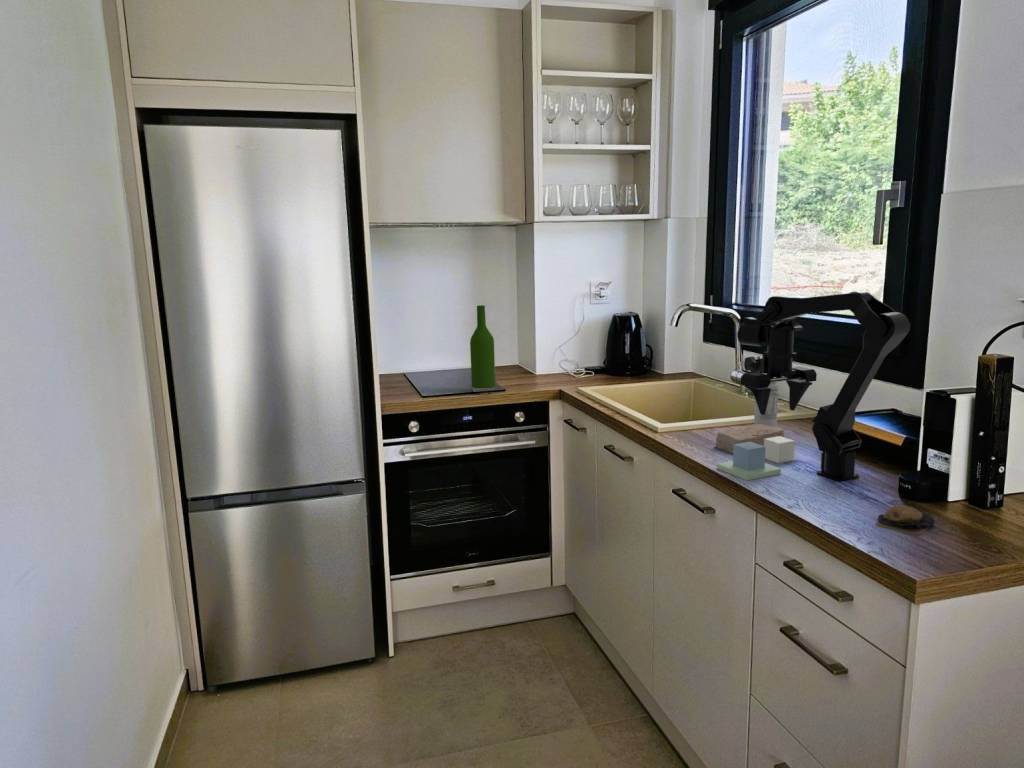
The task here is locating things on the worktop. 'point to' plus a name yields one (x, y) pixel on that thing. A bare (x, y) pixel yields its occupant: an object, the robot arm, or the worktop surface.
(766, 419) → the energy drink can
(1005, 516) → the worktop surface
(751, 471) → the green block
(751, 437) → the brick
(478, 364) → the wine bottle
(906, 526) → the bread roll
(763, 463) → the blue block
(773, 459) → the cream block
